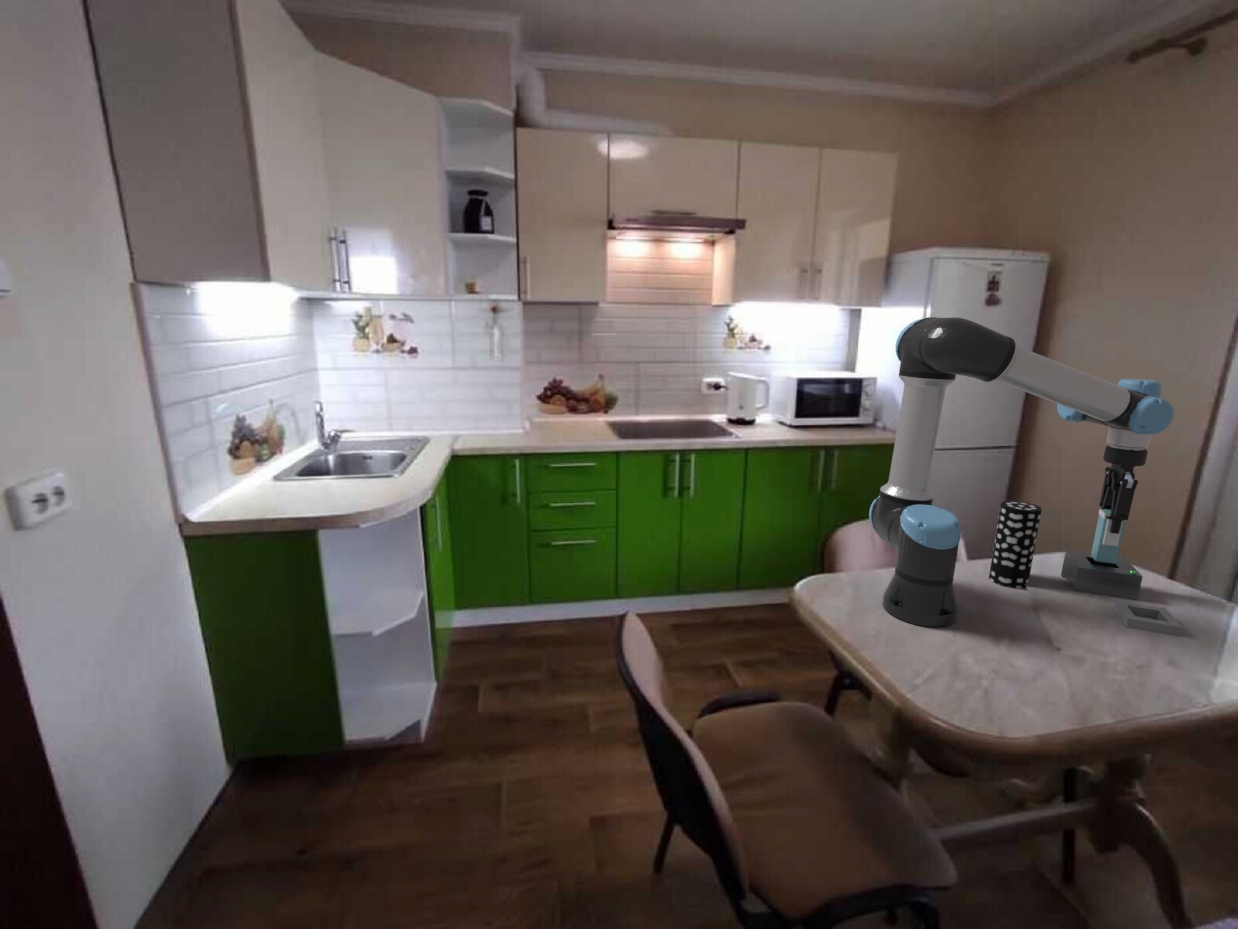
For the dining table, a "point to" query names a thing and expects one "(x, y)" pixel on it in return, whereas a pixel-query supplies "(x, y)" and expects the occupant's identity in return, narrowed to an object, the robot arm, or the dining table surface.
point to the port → (1101, 576)
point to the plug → (1099, 550)
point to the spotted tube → (1014, 543)
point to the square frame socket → (1147, 618)
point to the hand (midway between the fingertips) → (1106, 541)
